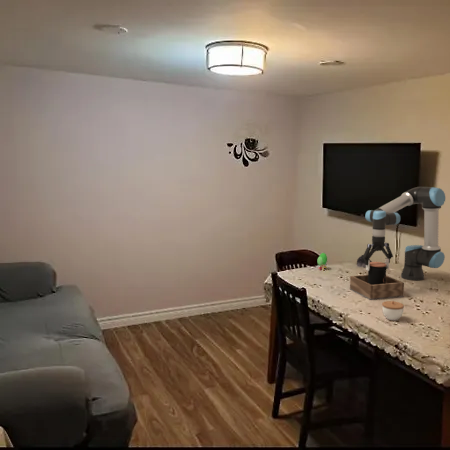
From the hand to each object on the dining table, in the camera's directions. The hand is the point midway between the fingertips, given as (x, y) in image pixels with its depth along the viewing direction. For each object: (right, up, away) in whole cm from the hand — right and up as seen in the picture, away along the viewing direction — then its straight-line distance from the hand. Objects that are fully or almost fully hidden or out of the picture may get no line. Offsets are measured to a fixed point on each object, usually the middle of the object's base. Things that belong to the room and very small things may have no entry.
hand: (377, 269), depth 284 cm
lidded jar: (-6, -22, -43) cm, 48 cm away
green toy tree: (-23, -7, +62) cm, 67 cm away
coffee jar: (0, -14, +2) cm, 15 cm away
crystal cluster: (+14, -5, +73) cm, 75 cm away
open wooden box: (0, -15, +2) cm, 15 cm away
